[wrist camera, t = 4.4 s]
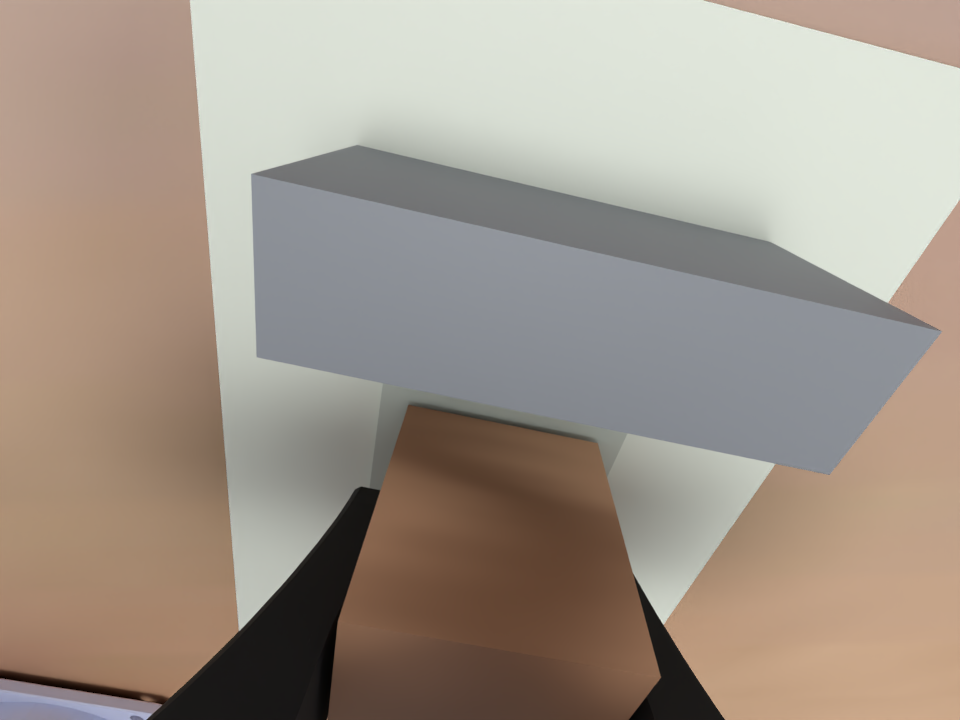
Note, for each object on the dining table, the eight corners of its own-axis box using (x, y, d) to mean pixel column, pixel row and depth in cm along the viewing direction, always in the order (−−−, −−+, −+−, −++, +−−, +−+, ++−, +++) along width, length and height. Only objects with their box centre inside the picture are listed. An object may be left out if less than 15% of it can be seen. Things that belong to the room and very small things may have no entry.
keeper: (382, 561, 12) (320, 790, 8) (408, 404, 9) (337, 621, 5) (534, 589, 12) (547, 825, 8) (597, 443, 10) (660, 677, 6)
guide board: (251, 677, 16) (181, 832, 13) (201, -123, 6) (-179, -403, 3) (575, 730, 17) (593, 891, 14) (1003, 89, 7) (1499, 74, 4)
